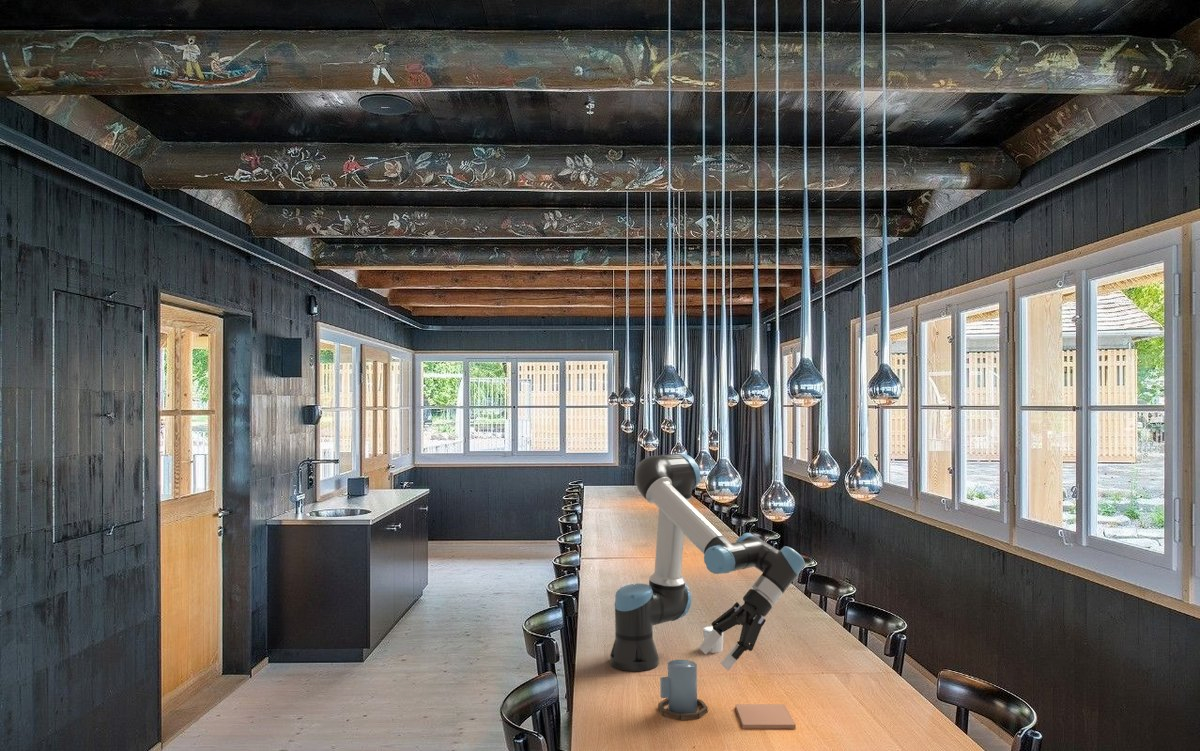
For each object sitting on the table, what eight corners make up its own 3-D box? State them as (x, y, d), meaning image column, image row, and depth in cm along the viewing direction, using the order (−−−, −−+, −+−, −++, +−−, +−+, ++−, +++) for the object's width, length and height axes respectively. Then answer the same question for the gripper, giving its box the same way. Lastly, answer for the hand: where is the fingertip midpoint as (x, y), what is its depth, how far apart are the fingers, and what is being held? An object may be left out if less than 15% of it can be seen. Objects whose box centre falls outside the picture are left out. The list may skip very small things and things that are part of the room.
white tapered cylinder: (710, 645, 260) (709, 624, 260) (728, 649, 255) (727, 627, 255) (699, 650, 254) (698, 629, 254) (717, 654, 250) (717, 632, 250)
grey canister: (690, 703, 211) (689, 658, 211) (701, 713, 203) (701, 667, 204) (656, 707, 208) (655, 662, 208) (666, 718, 200) (666, 671, 201)
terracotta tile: (735, 707, 207) (735, 704, 207) (784, 707, 207) (784, 704, 207) (743, 728, 194) (743, 724, 194) (795, 728, 194) (795, 724, 194)
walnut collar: (673, 697, 214) (673, 693, 214) (713, 707, 207) (713, 702, 207) (651, 712, 204) (651, 708, 204) (692, 723, 197) (692, 718, 197)
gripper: (795, 617, 201) (744, 683, 197) (749, 595, 225) (702, 653, 220) (776, 599, 200) (724, 664, 195) (732, 578, 224) (684, 636, 219)
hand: (712, 658), depth 208 cm, fingers open, 13 cm apart
